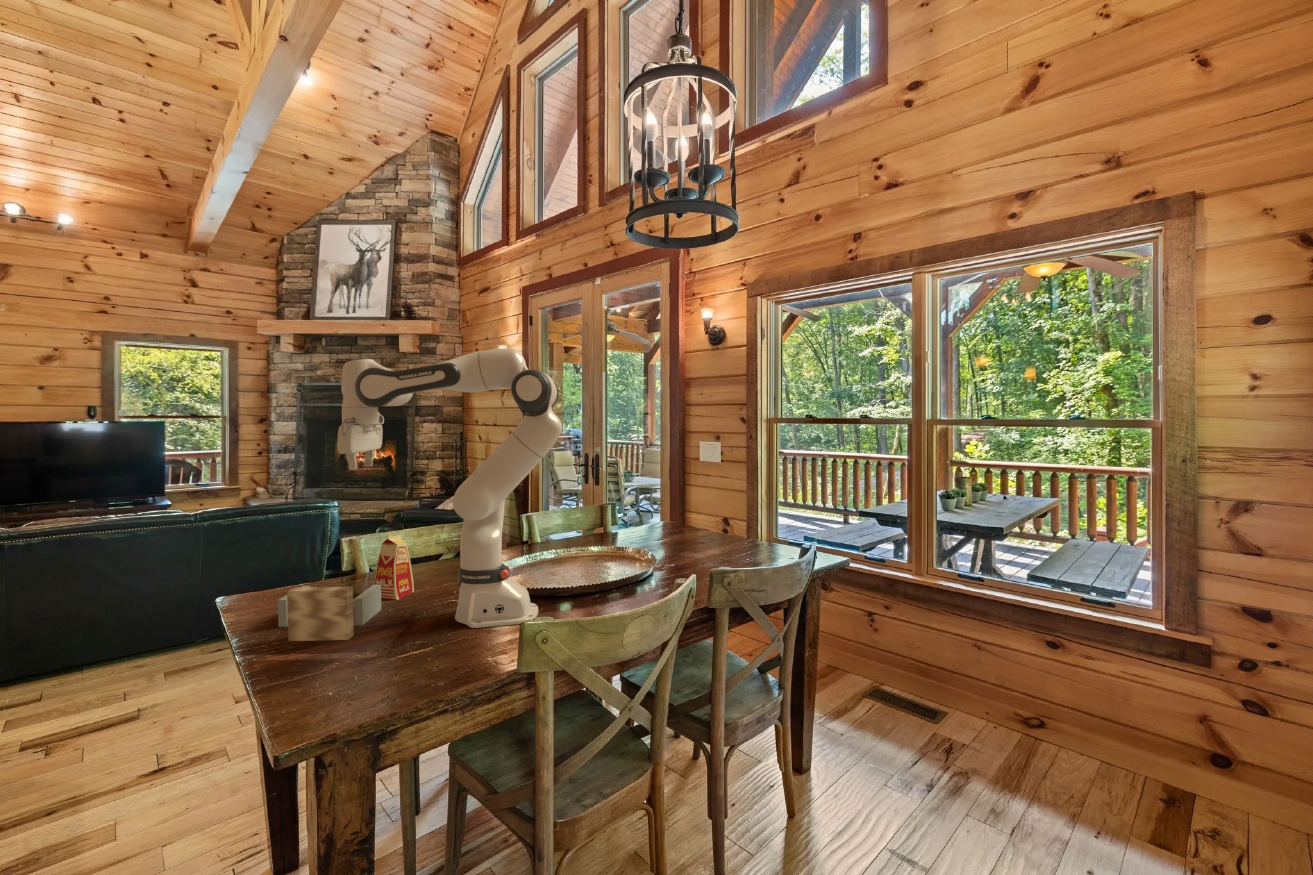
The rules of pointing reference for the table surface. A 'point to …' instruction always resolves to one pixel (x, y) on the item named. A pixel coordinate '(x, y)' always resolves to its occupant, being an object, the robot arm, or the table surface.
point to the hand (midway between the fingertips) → (361, 468)
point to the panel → (320, 613)
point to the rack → (362, 606)
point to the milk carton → (394, 569)
